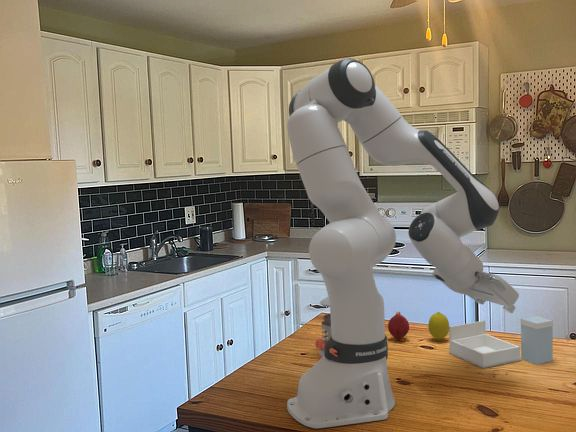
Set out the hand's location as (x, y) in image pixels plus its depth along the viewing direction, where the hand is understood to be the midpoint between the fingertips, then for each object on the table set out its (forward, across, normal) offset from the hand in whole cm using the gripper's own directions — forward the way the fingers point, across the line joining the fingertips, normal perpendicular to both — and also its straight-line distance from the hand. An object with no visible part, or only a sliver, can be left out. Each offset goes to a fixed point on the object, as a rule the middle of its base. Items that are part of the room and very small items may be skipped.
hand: (496, 306), depth 139 cm
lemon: (+11, +24, +10) cm, 28 cm away
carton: (+19, -1, +2) cm, 19 cm away
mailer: (+12, +7, +9) cm, 16 cm away
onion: (+5, +30, +16) cm, 34 cm away
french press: (-9, +28, +30) cm, 42 cm away
